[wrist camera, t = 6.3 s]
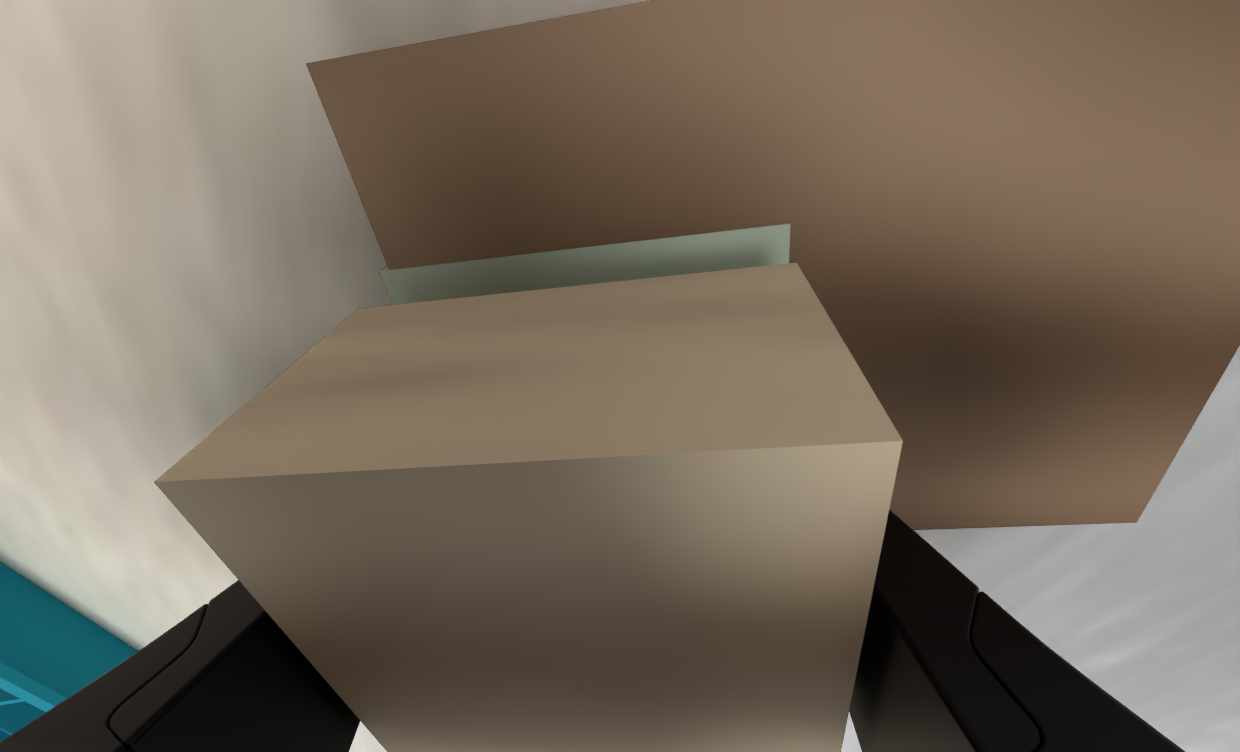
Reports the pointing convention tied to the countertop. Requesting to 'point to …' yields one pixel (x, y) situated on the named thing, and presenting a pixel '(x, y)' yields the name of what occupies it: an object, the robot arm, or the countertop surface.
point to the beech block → (567, 515)
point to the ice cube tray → (46, 651)
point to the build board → (860, 205)
